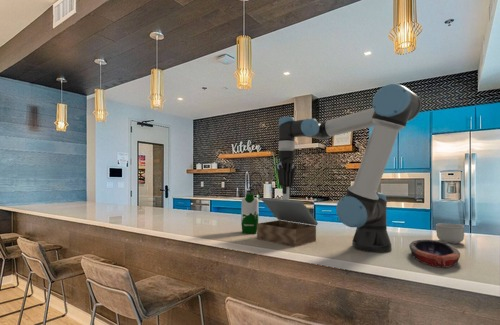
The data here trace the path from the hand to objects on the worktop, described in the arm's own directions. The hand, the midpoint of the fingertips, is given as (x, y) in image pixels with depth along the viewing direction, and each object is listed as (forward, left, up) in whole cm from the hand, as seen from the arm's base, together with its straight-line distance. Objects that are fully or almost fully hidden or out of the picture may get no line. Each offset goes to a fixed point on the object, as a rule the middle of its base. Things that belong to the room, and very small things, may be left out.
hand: (286, 200), depth 140 cm
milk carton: (+24, 0, -18) cm, 30 cm away
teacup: (-53, -53, -18) cm, 77 cm away
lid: (0, -2, -5) cm, 6 cm away
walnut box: (0, 0, -18) cm, 18 cm away
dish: (-57, -15, -19) cm, 61 cm away
